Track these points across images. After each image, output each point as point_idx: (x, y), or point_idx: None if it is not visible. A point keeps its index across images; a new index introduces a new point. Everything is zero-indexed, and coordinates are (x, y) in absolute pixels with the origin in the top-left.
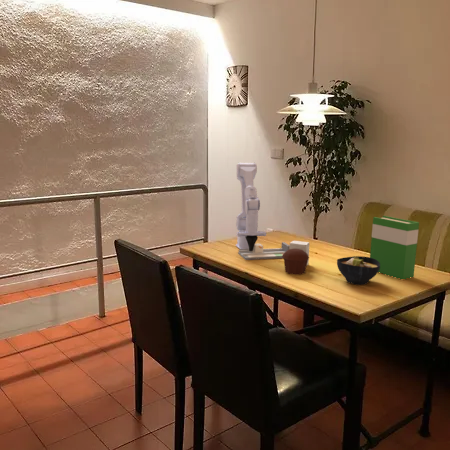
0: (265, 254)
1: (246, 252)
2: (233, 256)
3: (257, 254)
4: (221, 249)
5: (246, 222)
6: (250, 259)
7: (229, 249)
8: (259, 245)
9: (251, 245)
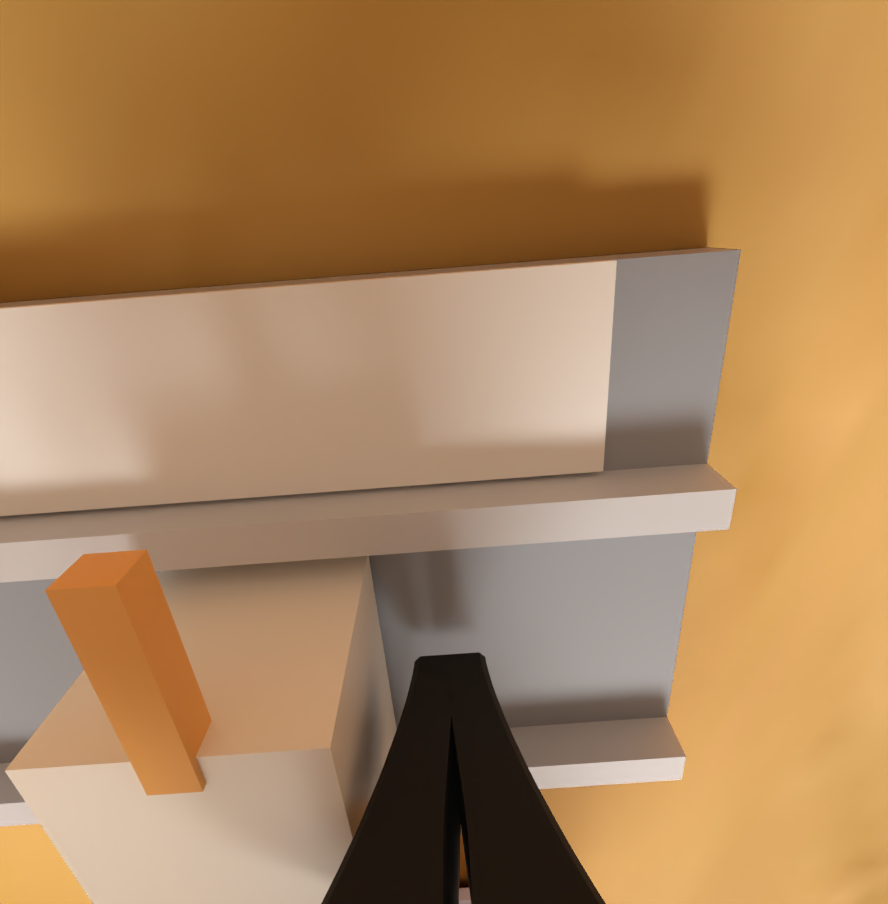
0: (98, 512)
1: (524, 700)
2: (829, 563)
3: (317, 502)
4: (800, 894)
5: None
6: (562, 260)
7: (685, 892)
8: (162, 815)
9: (478, 802)
